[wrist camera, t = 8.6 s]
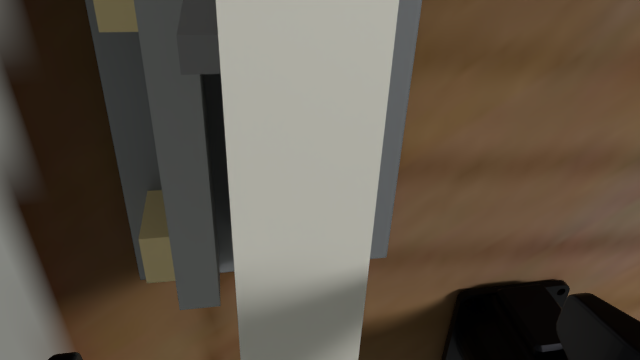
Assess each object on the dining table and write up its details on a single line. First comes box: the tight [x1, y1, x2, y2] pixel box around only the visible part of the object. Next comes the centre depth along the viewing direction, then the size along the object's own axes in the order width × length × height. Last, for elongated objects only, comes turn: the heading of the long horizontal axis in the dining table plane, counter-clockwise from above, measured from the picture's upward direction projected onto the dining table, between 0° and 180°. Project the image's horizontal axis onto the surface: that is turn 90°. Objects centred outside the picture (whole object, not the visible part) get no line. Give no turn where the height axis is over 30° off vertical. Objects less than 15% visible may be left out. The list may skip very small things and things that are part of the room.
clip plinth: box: [85, 0, 422, 310], centre depth 18 cm, size 16×11×4 cm
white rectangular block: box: [176, 0, 399, 360], centre depth 15 cm, size 13×4×9 cm, turn 178°
